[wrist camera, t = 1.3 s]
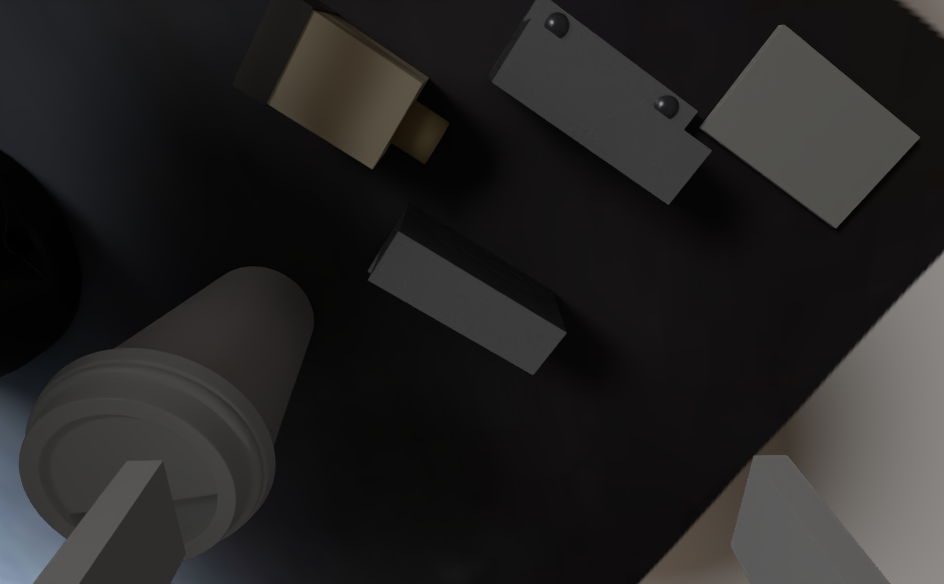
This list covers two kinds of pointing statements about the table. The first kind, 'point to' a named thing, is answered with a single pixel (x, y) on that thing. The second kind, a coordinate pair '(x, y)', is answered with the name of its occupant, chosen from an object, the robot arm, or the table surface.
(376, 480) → the table surface
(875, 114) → the mat
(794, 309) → the table surface
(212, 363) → the coffee cup
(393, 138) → the tan piece
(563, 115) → the dark grey boxy pieces
